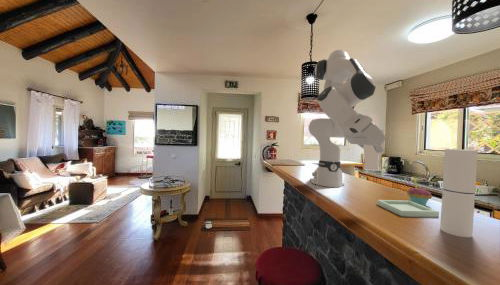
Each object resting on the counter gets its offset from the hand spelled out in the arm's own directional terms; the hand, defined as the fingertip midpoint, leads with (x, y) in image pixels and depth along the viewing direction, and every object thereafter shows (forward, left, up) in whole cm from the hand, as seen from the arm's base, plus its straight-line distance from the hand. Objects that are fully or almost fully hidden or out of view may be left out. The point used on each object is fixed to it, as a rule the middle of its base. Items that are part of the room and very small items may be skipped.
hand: (374, 151), depth 85 cm
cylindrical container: (+19, +14, -23) cm, 33 cm away
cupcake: (-10, +27, -23) cm, 37 cm away
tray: (-1, +14, -23) cm, 27 cm away
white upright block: (+1, -1, -7) cm, 8 cm away
